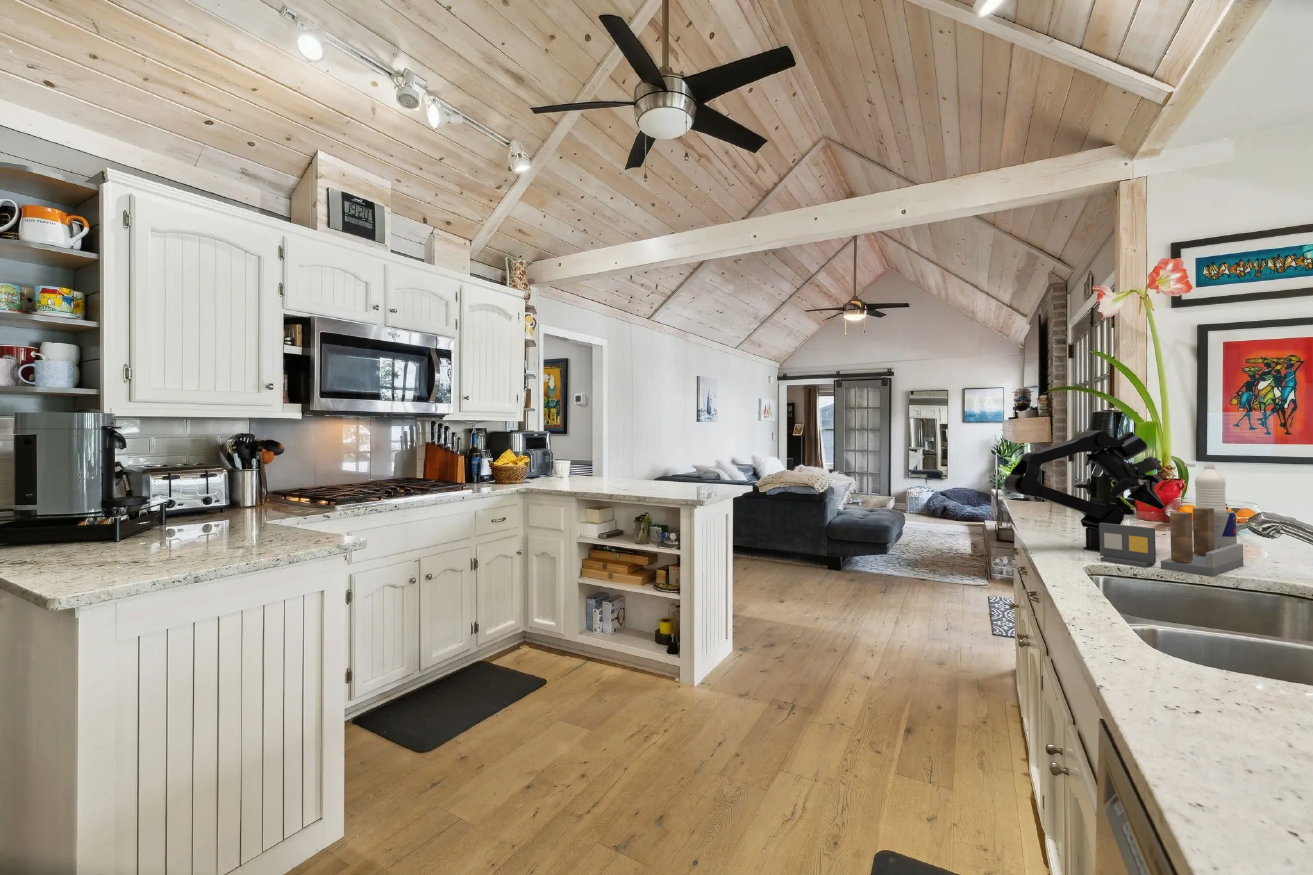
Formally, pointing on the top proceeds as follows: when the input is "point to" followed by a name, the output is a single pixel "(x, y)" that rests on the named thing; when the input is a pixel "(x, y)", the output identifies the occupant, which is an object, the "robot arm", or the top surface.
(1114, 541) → the card
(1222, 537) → the energy drink
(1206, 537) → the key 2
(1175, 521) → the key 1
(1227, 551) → the grey stepped base
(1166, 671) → the top surface
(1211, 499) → the water bottle
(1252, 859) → the top surface
